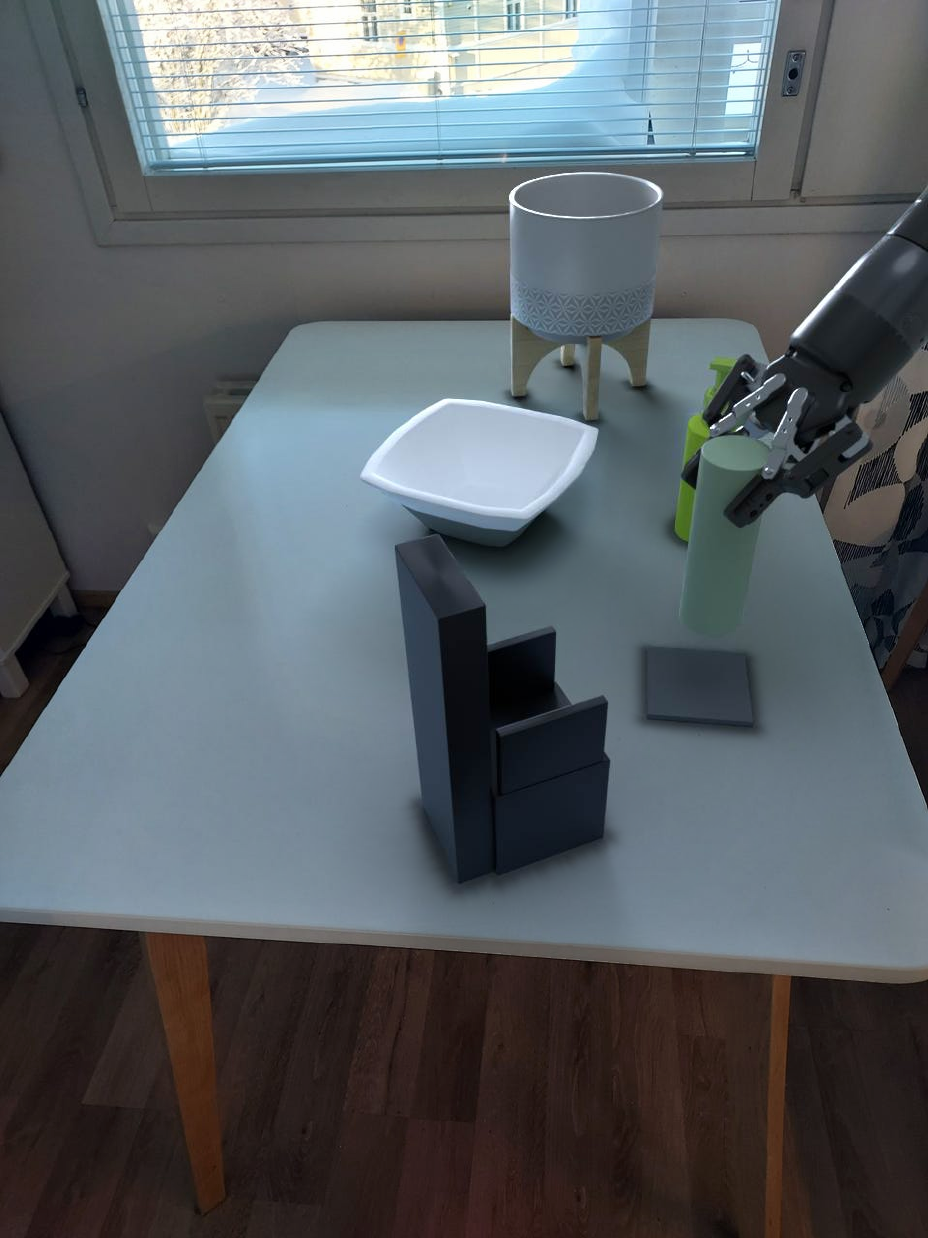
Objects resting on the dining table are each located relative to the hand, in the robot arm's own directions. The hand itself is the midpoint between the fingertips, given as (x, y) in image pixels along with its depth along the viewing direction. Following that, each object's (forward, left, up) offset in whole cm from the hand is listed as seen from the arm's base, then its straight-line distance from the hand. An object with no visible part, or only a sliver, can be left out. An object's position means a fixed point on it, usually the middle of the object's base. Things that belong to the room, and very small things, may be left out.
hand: (709, 501), depth 71 cm
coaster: (+1, -2, -20) cm, 21 cm away
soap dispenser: (+26, -4, -21) cm, 33 cm away
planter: (+60, +12, -21) cm, 65 cm away
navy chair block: (-16, +14, -20) cm, 29 cm away
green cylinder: (+1, -2, -12) cm, 12 cm away
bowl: (+27, +21, -21) cm, 40 cm away
